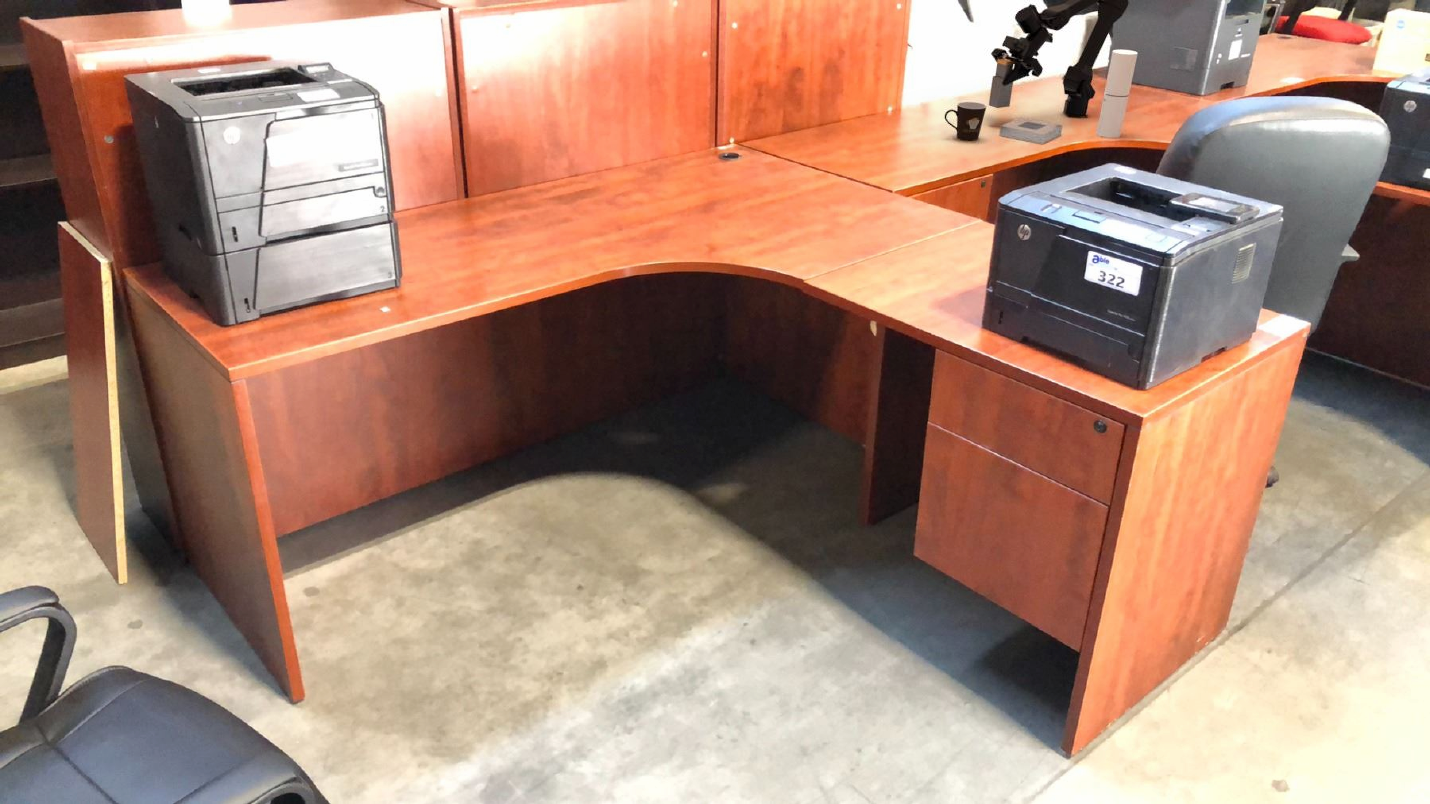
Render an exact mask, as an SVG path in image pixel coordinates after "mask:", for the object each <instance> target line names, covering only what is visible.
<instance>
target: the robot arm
mask: <svg viewBox="0 0 1430 804" xmlns="http://www.w3.org/2000/svg"><path fill="white" fill-rule="evenodd" d="M1096 3H1097V4H1098V7H1097V20H1096V23H1095V25H1094V27H1093V29H1092V30H1091V33H1090V35H1089V37H1088V39H1087V41H1086V44H1085V45H1084V48H1083V50H1082V52H1081V54H1080V57H1079V59H1078V61H1077V63H1075V64H1074V65H1069V66H1068V67H1067V69H1066V72H1065V74H1064V75H1063V76H1062V78H1063V80H1062V85H1063V93H1064V95H1067V99H1065V101H1064V107H1063V111H1062V113H1063V114H1064V115H1065V116H1066V117H1068V118H1088V117H1089V116H1088V114H1087V111H1088V106H1089V101H1090V100H1092V99H1094V97H1095V94H1096V91H1095V89H1094V88H1093V85H1092V80H1093V78H1094V76H1093V75H1094V73H1093V72H1094V71H1093V67H1094V65H1095V63H1096V60H1097V59H1098V57H1099V54H1100V52H1101V50H1102V48H1103V46H1104V43H1105V42H1106V39H1107V37H1108V35H1109V34H1110V31H1111V29H1112V28H1113V27H1112V26H1113V25H1114V24H1115V23H1116V22H1117V21H1118V20H1119V19H1120V18H1122V17H1123V15H1124V13H1125V11H1126V10H1127V8H1128V6H1129V3H1130V1H1129V0H1068V1H1066V2H1064V3H1061V4H1060V5H1059V4H1058V5H1054V6H1050V7H1047V8H1044V9H1043V10H1042V11H1041V12H1039V11H1038V9H1037V6H1036V5H1035V4H1031V3H1030V4H1028V6H1026V7H1023V8H1022V9H1020V10H1018V11H1016V12H1017V13H1016V14H1015V16H1014V20H1015V21H1016V23H1017V25H1018V26H1019V28H1020V29H1021V31H1022V32H1023V34H1025V35H1026V34H1027V35H1026V36H1025V37H1022V36H1021V37H1019V38H1017V37H1015V36H1014V37H1013V36H1009V35H1005V38H1004V40H1003V43H1002V44H1001V46H1002V47H1004V48H1007V49H1008V51H1007V50H1006V49H1003V48H999V47H996V48H994V49H993V51H992V52H991V53H990V54H991V56H992V58H993V59H994V61H995V63H997V61H998V59H1008V60H1012V61H1014V64H1013V70H1012V71H1011V73H1010V74H1009V75H1008V76H1007V78H1006V79H1005V81H1004V82H1003V85H1004V86H1006V85H1008V84H1010V83H1012V82H1013V83H1014V82H1016V81H1018V80H1021V79H1023V78H1026V77H1029V76H1030V72H1031V76H1033V77H1036V78H1039V77H1040V76H1041V74H1043V66H1042V65H1041V63H1040V61H1039V60H1038V58H1035V57H1038V56H1039V55H1040V54H1039V50H1040V49H1041V48H1042V47H1043V46H1044V44H1045V43H1051V44H1052V43H1053V42H1054V41H1053V40H1054V38H1053V37H1054V34H1053V33H1052V32H1050V31H1049V30H1052V31H1055V32H1056V31H1060V30H1062V29H1063V28H1064V27H1065V26H1066V25H1068V24H1069V22H1070V21H1071V18H1073V17H1074V16H1076V15H1077V14H1079V13H1081V12H1082V11H1085V10H1086V9H1088V8H1090V7H1092V6H1093V5H1095V4H1096ZM1009 54H1010V55H1009Z"/></svg>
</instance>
